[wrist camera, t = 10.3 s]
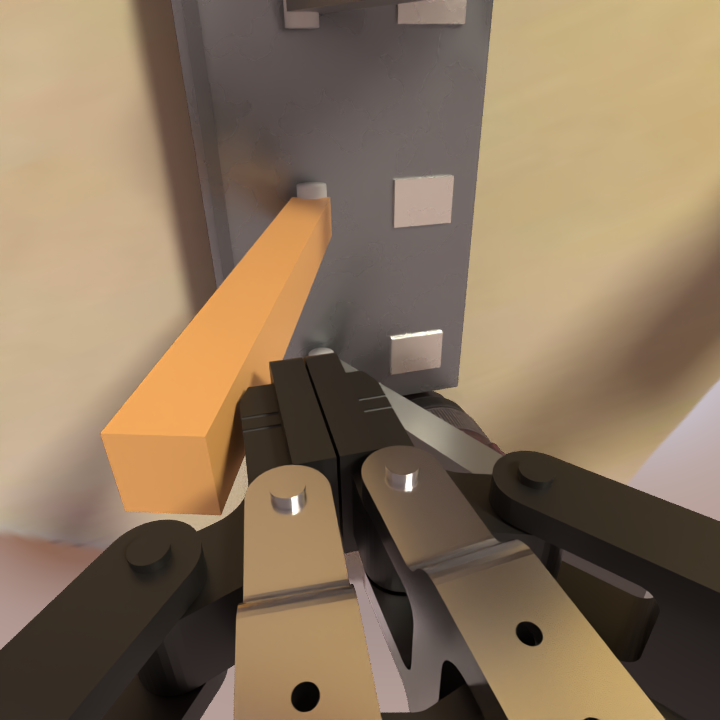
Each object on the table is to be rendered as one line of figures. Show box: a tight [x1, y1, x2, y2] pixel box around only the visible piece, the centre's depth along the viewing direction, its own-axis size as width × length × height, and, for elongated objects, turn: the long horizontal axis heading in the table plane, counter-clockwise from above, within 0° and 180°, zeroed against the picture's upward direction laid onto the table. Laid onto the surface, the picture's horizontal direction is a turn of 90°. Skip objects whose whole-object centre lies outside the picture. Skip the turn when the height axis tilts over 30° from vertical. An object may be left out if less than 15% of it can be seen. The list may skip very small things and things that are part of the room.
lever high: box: [309, 348, 653, 598], centre depth 24 cm, size 2×3×19 cm, turn 2°
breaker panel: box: [171, 0, 493, 396], centre depth 27 cm, size 14×24×4 cm, turn 1°
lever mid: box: [100, 182, 332, 515], centre depth 17 cm, size 2×3×19 cm, turn 1°
